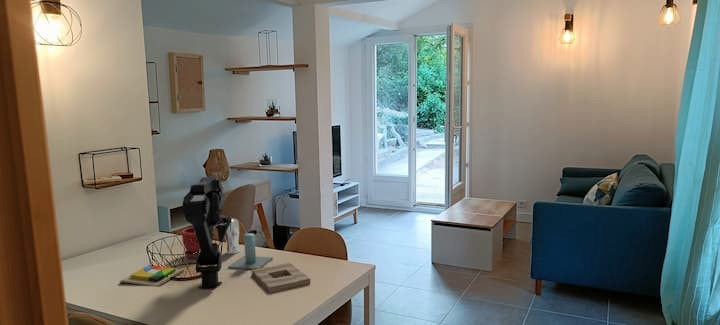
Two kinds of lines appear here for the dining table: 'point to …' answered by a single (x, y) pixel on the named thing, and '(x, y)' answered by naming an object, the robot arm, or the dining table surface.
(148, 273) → the wooden puzzle
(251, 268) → the slate tile
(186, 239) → the plant pot
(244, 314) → the dining table surface
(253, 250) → the pale teal peg
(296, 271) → the walnut puzzle board
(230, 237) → the white can
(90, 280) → the dining table surface
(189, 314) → the dining table surface
